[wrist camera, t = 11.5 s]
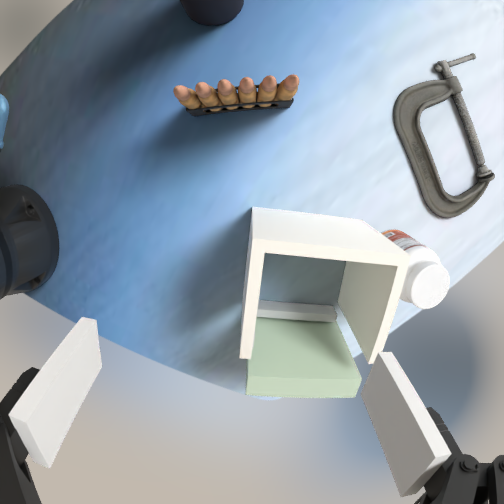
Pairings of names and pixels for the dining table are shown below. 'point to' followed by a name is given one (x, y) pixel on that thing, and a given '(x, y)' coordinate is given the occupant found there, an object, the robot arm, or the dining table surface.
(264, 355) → the door
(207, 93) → the ammunition clip
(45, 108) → the dining table surface
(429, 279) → the pill bottle
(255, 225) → the cabinet
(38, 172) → the dining table surface
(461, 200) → the c clamp
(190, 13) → the vinegar
